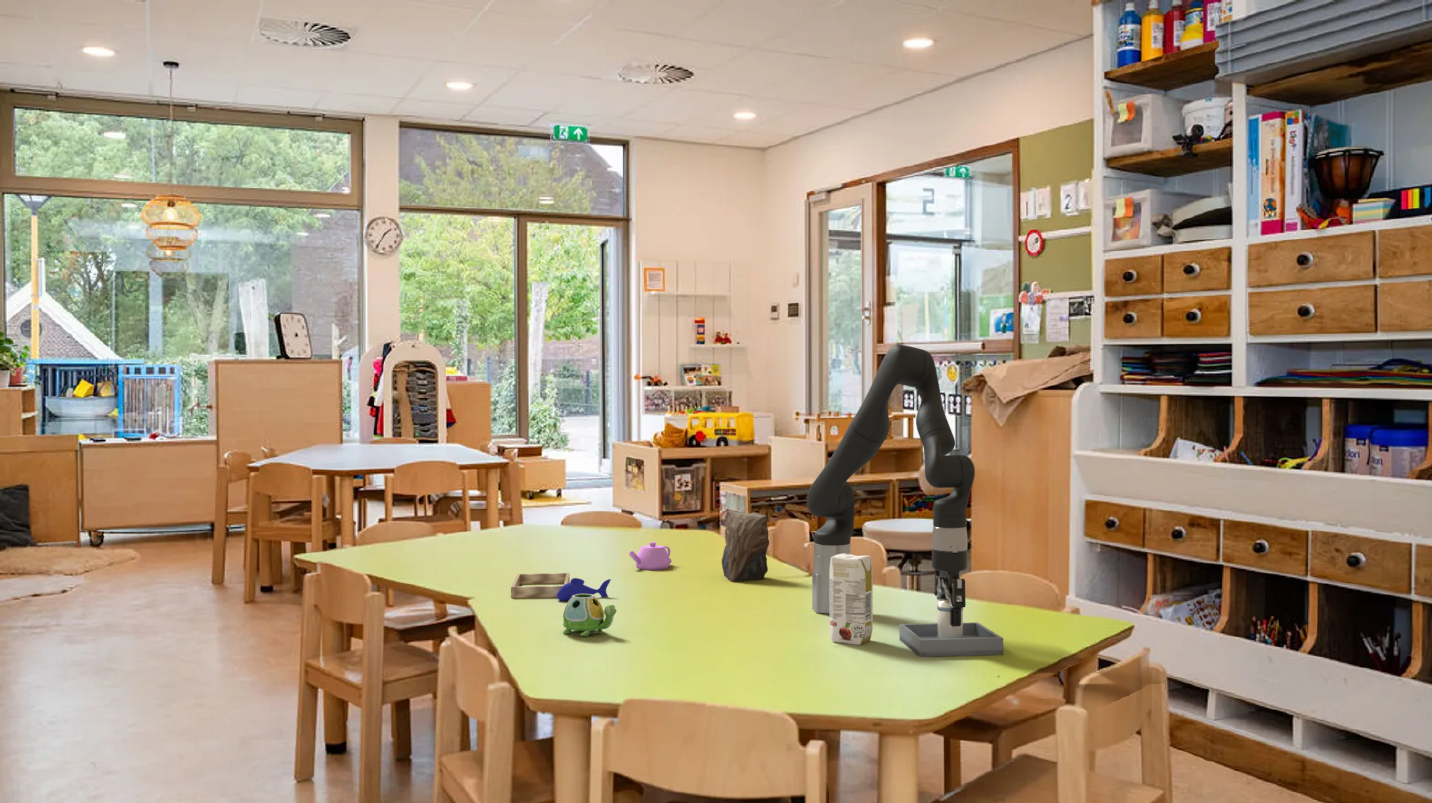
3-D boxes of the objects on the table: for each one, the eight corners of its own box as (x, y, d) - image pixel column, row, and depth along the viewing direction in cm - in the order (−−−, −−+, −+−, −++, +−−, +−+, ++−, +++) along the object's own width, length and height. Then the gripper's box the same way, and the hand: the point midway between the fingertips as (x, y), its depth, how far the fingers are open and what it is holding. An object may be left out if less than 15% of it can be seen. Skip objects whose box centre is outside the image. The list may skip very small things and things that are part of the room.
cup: (941, 645, 235) (941, 603, 235) (933, 640, 240) (934, 598, 240) (966, 645, 236) (966, 602, 236) (958, 639, 241) (958, 598, 241)
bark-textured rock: (720, 578, 328) (720, 511, 328) (761, 576, 330) (761, 510, 330) (730, 585, 315) (729, 515, 315) (772, 583, 318) (772, 514, 318)
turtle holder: (606, 639, 247) (606, 601, 247) (555, 634, 252) (555, 597, 252) (623, 631, 255) (623, 594, 255) (574, 626, 260) (574, 590, 260)
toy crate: (511, 602, 290) (511, 587, 290) (517, 588, 312) (517, 573, 312) (566, 601, 292) (566, 586, 292) (569, 587, 313) (569, 573, 313)
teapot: (679, 572, 338) (679, 542, 338) (637, 577, 330) (637, 546, 330) (662, 568, 347) (662, 538, 347) (620, 572, 338) (620, 542, 338)
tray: (919, 657, 229) (919, 640, 229) (899, 639, 245) (899, 624, 245) (1003, 654, 231) (1003, 638, 231) (977, 637, 247) (977, 622, 247)
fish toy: (561, 608, 283) (561, 581, 283) (552, 603, 290) (552, 577, 290) (616, 602, 290) (616, 577, 290) (605, 598, 297) (605, 573, 297)
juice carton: (861, 646, 239) (861, 559, 238) (826, 642, 243) (825, 556, 243) (875, 640, 245) (875, 555, 245) (840, 635, 250) (840, 552, 249)
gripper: (923, 543, 245) (923, 615, 245) (942, 552, 230) (942, 629, 231) (956, 542, 245) (955, 615, 246) (977, 551, 231) (977, 628, 231)
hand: (949, 621), depth 238 cm, fingers open, 8 cm apart
